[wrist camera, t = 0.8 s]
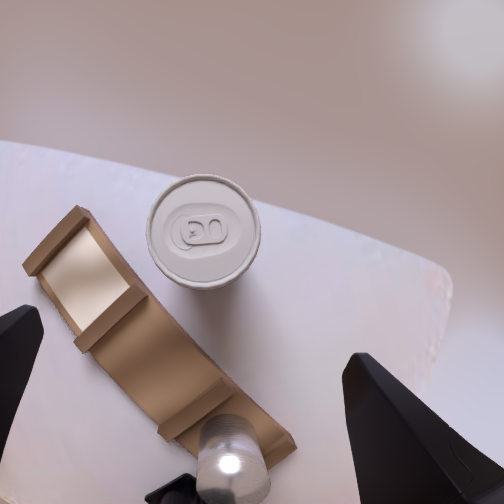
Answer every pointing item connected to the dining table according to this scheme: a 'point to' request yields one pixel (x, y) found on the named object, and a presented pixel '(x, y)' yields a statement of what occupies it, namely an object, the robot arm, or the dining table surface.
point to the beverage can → (203, 232)
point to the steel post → (230, 462)
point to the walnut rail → (141, 338)
